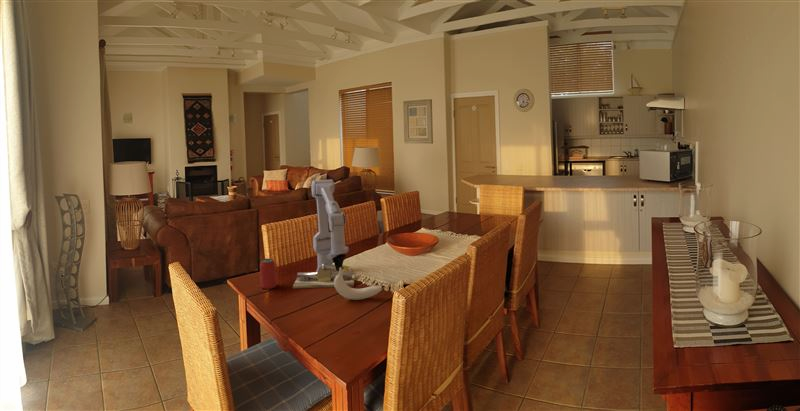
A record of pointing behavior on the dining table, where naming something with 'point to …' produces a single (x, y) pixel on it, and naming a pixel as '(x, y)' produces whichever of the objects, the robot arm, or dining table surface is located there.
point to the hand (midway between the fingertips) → (338, 271)
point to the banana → (351, 292)
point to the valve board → (321, 283)
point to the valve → (323, 275)
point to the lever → (334, 266)
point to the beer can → (268, 273)
